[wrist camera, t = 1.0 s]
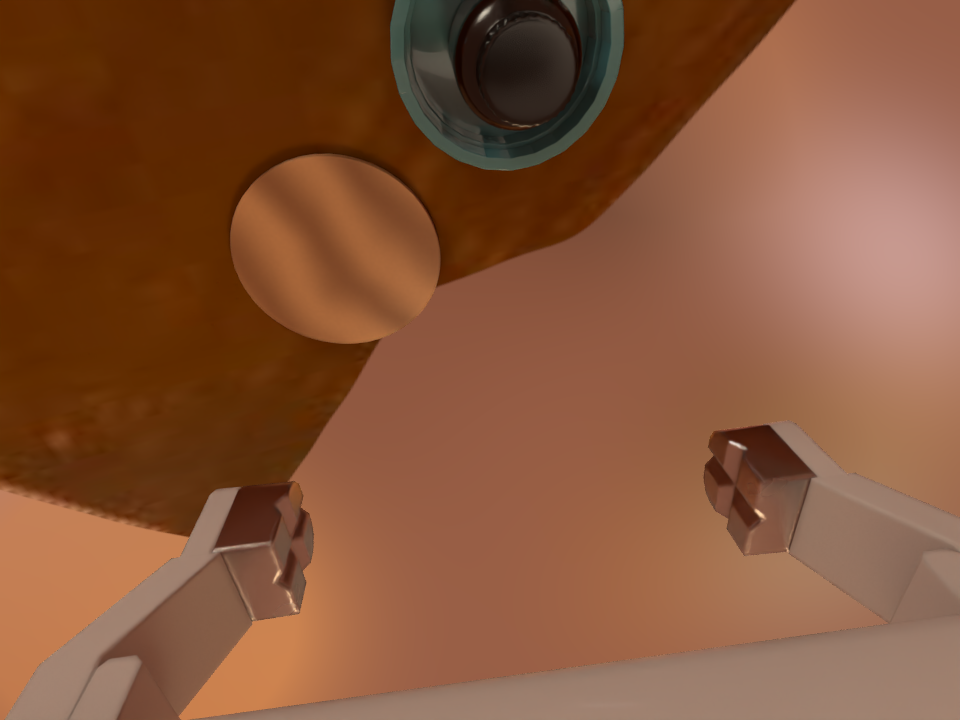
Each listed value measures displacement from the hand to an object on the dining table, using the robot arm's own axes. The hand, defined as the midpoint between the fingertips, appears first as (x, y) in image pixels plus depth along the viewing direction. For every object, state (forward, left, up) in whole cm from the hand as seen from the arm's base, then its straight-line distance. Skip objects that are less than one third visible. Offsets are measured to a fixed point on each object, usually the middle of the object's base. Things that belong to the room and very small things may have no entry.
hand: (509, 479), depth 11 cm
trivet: (+14, +3, -33) cm, 36 cm away
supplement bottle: (-5, 0, -33) cm, 33 cm away
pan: (-5, 0, -33) cm, 33 cm away
